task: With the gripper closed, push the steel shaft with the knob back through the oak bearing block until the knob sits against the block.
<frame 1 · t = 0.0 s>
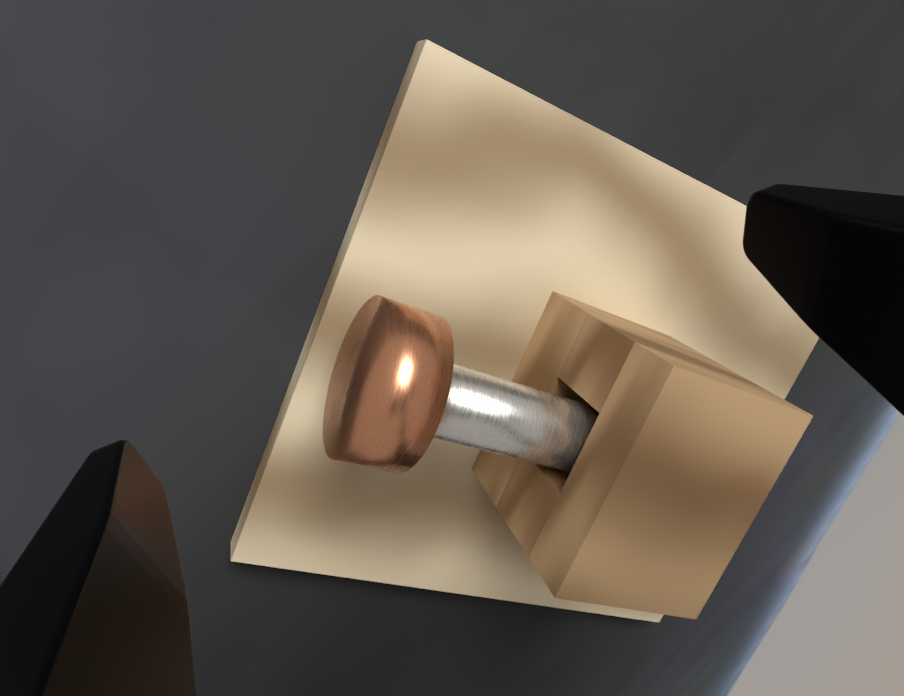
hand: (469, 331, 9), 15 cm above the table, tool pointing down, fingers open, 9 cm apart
bearing block: (558, 389, 29), on the table
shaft: (534, 425, 22), point 6 cm above the table, slide at 5.0 cm
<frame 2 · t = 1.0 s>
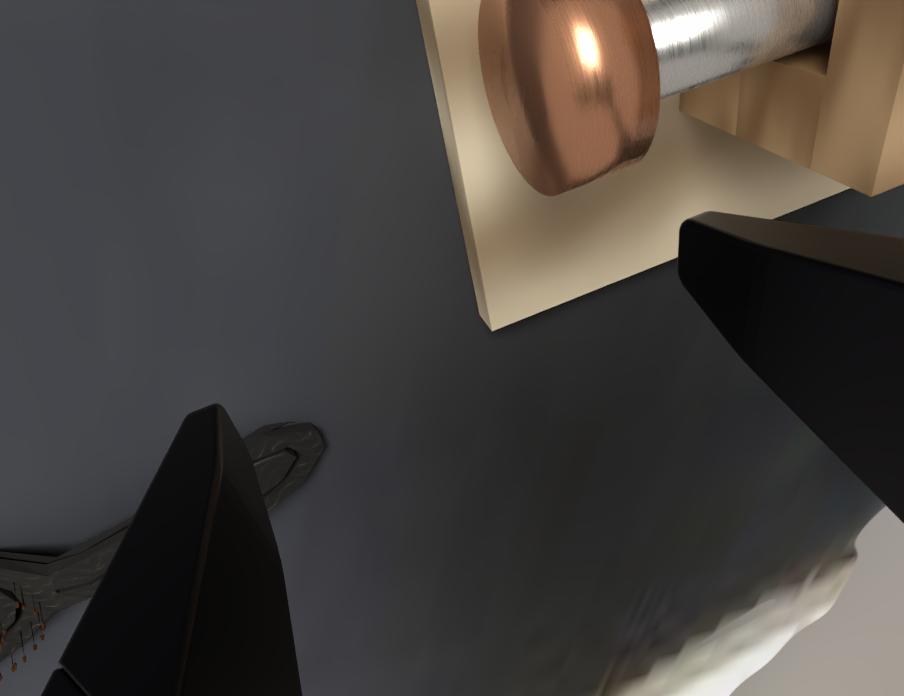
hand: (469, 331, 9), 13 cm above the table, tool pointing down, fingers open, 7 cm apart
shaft: (756, 13, 17), point 5 cm above the table, slide at 5.0 cm
hairbrush: (12, 561, 25), on the table
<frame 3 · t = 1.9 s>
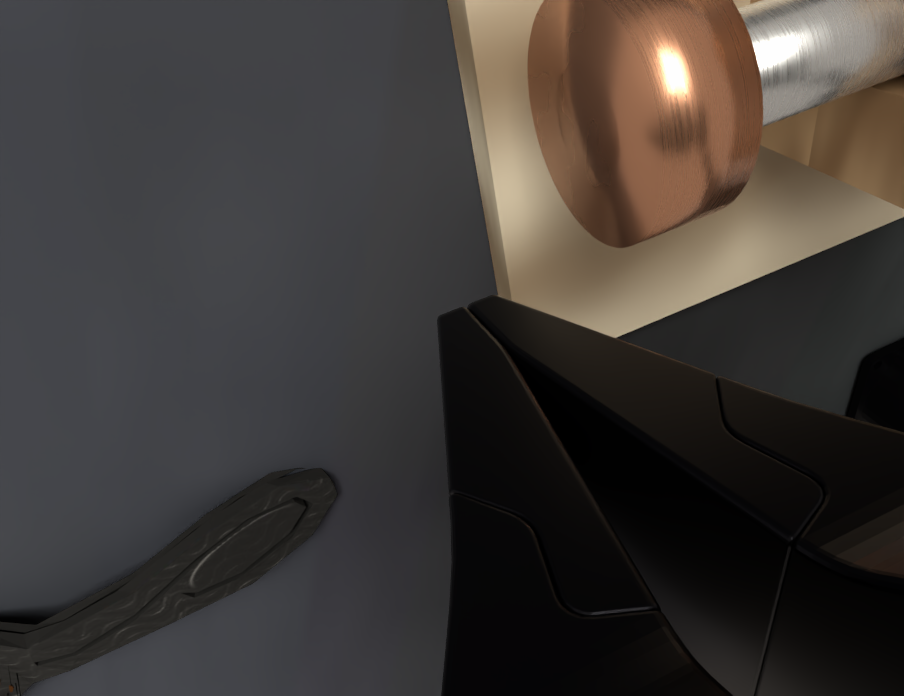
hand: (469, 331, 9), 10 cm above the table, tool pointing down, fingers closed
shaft: (853, 32, 14), point 5 cm above the table, slide at 5.0 cm
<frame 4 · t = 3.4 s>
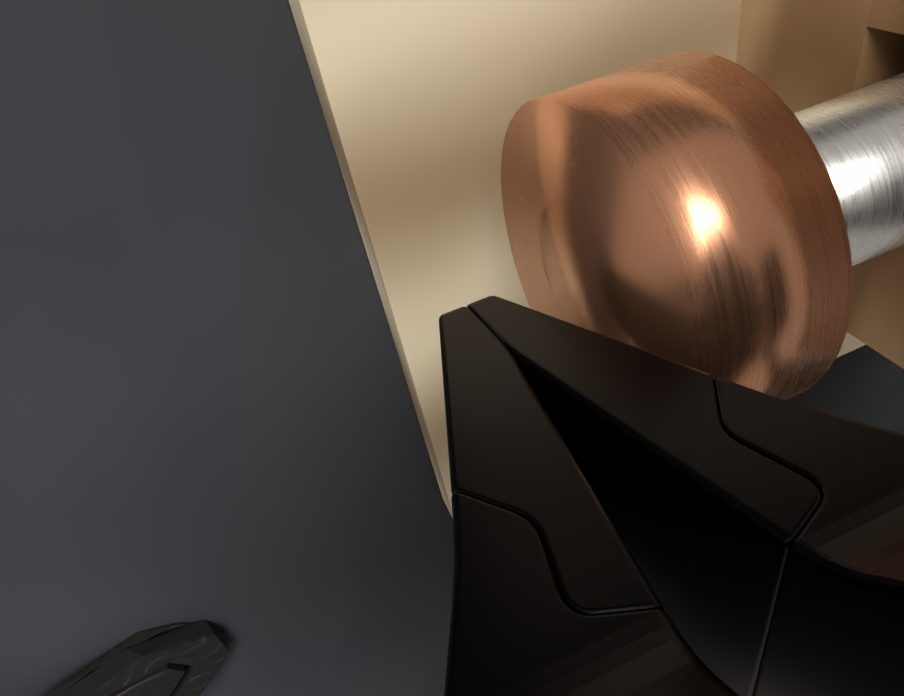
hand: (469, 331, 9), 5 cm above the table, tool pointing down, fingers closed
bearing block: (810, 26, 15), on the table
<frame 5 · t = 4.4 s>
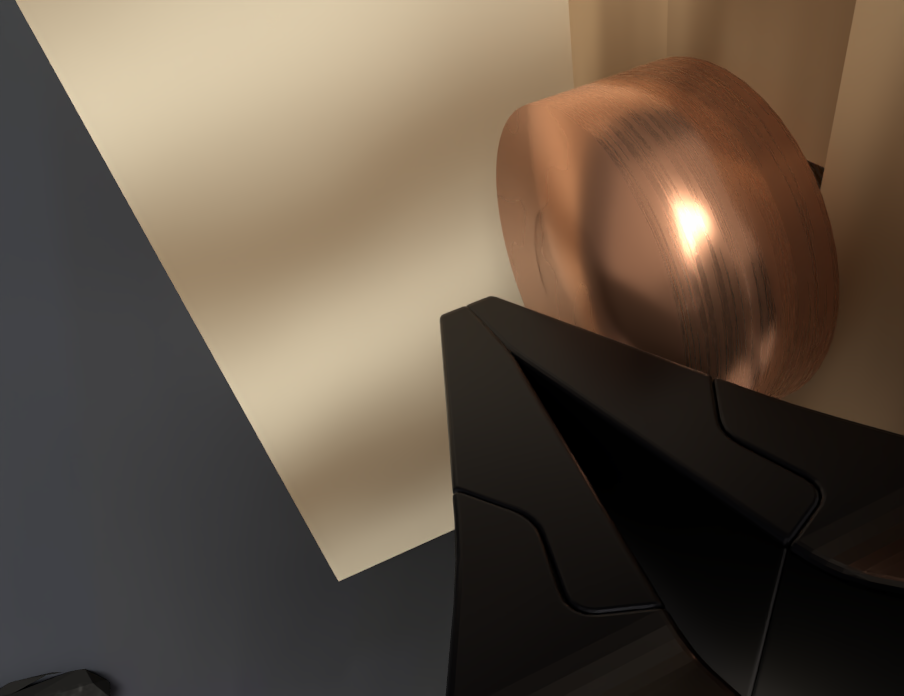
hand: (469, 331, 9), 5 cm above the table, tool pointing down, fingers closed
bearing block: (672, 75, 14), on the table
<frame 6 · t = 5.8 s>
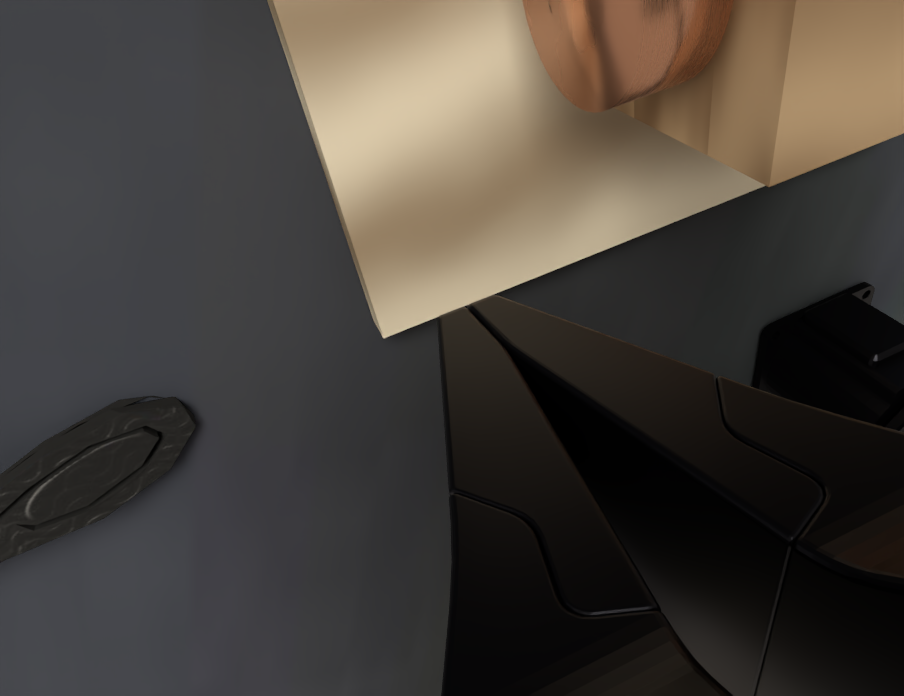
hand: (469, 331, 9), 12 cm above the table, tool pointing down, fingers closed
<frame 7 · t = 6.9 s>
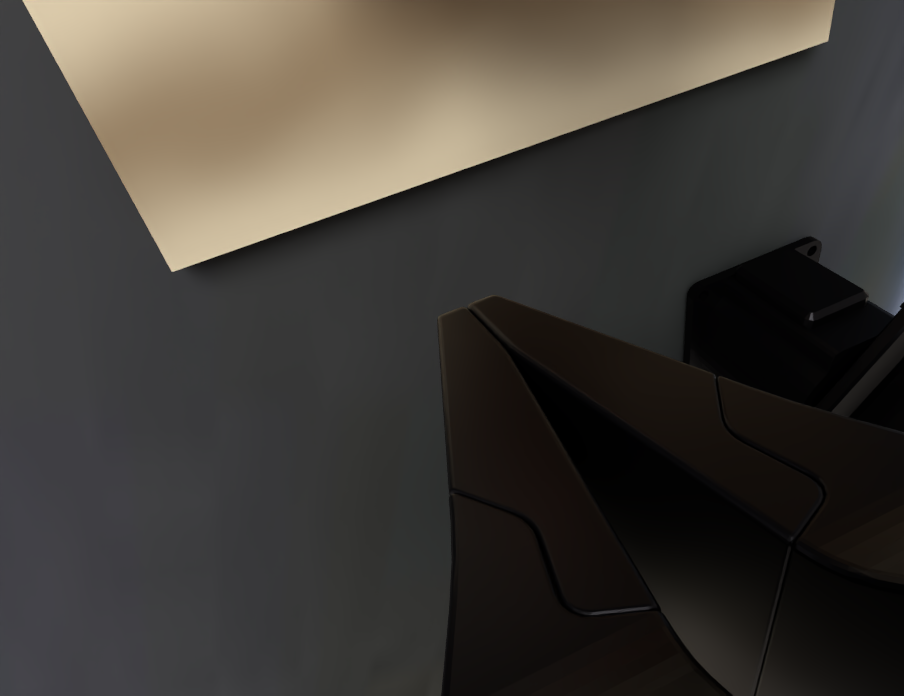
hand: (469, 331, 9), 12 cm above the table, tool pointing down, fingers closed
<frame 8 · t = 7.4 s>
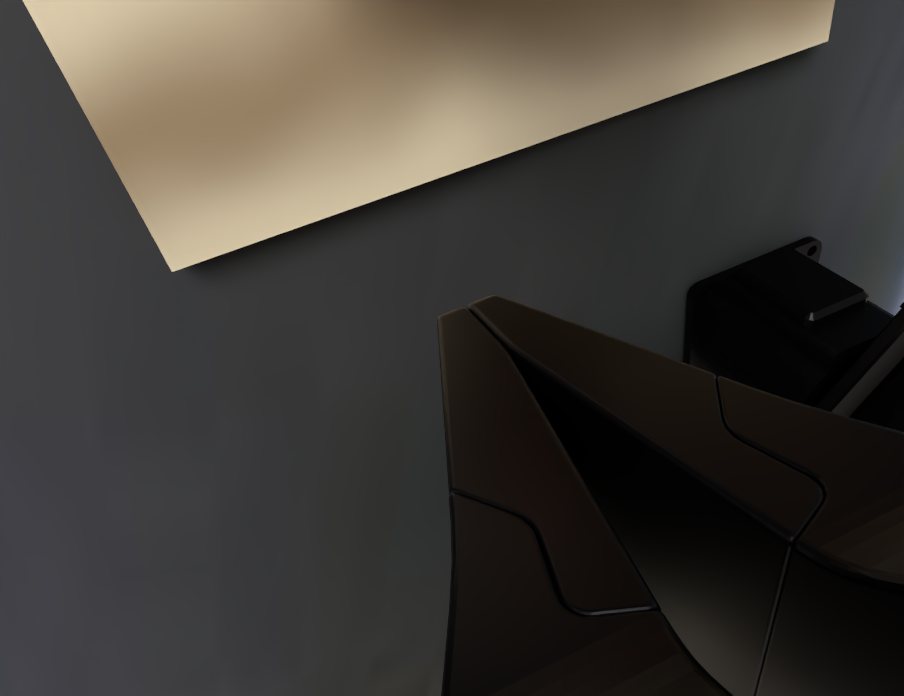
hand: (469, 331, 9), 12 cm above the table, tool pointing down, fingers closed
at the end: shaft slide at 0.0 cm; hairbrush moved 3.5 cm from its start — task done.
